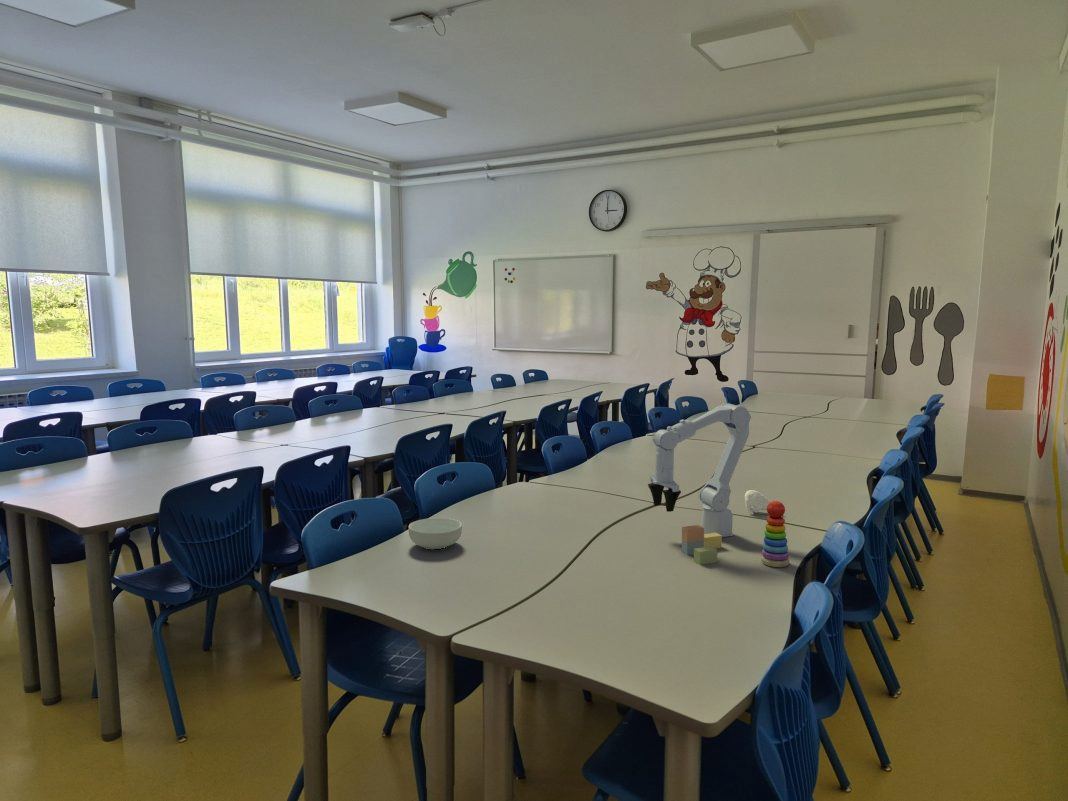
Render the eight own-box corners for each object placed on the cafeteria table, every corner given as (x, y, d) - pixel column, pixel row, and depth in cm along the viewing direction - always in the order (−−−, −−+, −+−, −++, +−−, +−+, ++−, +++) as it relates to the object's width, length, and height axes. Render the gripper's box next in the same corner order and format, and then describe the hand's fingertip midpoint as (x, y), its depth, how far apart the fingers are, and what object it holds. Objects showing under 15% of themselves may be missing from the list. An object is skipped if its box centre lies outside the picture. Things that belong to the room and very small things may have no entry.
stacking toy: (788, 560, 198) (791, 499, 196) (789, 569, 191) (792, 506, 188) (760, 557, 201) (763, 496, 198) (760, 566, 193) (763, 503, 191)
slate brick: (698, 549, 207) (698, 537, 207) (703, 552, 205) (704, 540, 204) (681, 552, 205) (681, 539, 205) (687, 555, 202) (687, 542, 202)
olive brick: (710, 559, 200) (711, 546, 199) (716, 562, 197) (717, 549, 196) (693, 561, 197) (694, 548, 197) (699, 565, 195) (699, 551, 194)
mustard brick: (715, 544, 212) (716, 532, 211) (721, 547, 209) (721, 535, 209) (699, 547, 210) (700, 534, 209) (705, 550, 207) (705, 537, 207)
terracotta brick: (698, 537, 207) (698, 524, 206) (703, 540, 204) (704, 527, 204) (681, 539, 205) (682, 526, 204) (687, 542, 202) (687, 529, 202)
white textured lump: (745, 487, 248) (778, 492, 245) (742, 509, 250) (775, 514, 247) (745, 491, 242) (780, 496, 239) (742, 514, 243) (777, 519, 241)
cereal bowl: (473, 545, 211) (472, 524, 211) (431, 559, 199) (431, 537, 198) (439, 534, 223) (438, 513, 222) (398, 546, 211) (397, 524, 210)
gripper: (642, 463, 220) (641, 503, 221) (665, 473, 206) (664, 515, 208) (660, 461, 222) (660, 501, 224) (685, 471, 208) (684, 513, 210)
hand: (663, 508), depth 216 cm, fingers open, 7 cm apart
